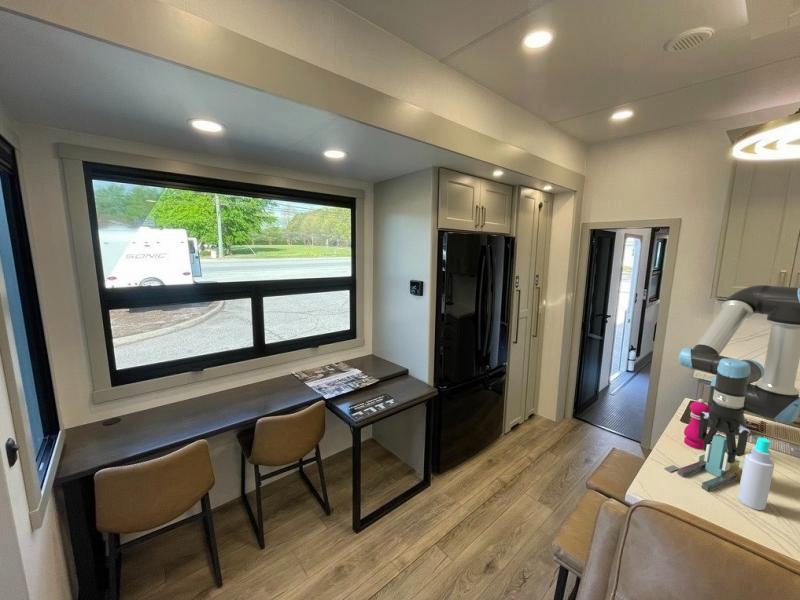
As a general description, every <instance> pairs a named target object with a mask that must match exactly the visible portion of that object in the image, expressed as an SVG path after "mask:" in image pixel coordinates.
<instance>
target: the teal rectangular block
mask: <svg viewBox="0 0 800 600" xmlns="http://www.w3.org/2000/svg"><path fill="white" fill-rule="evenodd" d="M711 443H712V447H711V453H710V458H709V462H706V466H705V469H704V471H706V472H708V473H711V474H712V475H713V476H716V477H719V476H721V475H724V474H726V471H724V470H722V466H723V461H724V455H725V453H726V452H728V447H727V438H726V435H725V436H724V435H722V434H720V433H716V435H714V436H713V440H712V442H711Z"/></svg>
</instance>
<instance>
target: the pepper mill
mask: <svg viewBox="0 0 800 600" xmlns="http://www.w3.org/2000/svg"><path fill="white" fill-rule="evenodd" d="M707 404H708V403H707ZM707 404H706V403H705V400H704V399H703V398H699V399H698V401H692V402H691V403H690V405H689V409H690V411H691V412H690V417H691V419H690V421H689V423H688V424H687V425H686V426H685V428H684V431H683V434H684V439H683V443H684V444H685V445H687V446H688V447H691V448H692V449H697V450H703V446H704V441H703V440H702V439H699V438H698V433H699V426H700V415H699V413H701V412H707V413H709V412H710V408H709V406H708V405H707ZM706 435H707V434H706Z"/></svg>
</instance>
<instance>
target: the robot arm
mask: <svg viewBox="0 0 800 600" xmlns="http://www.w3.org/2000/svg"><path fill="white" fill-rule="evenodd" d="M720 308H721V310H720V312H719V313H718V314H717V316H716V317H715V319H714V320H713V321H712V322H711V323H710V325H709V326H708V328H707V330H706V331H705V332H704V333H703V334H702V336H701V338H699V340H698V341H697V343H696V344H695V346H694V347H693V348H691V347H690V348H688V347H684V348H682V349H681V350H680V352H679V354H678V361H679V364H680V366H683V367H686V368H689V369H691V370H696V371H699V372H703V373H706V374H711V375H714V376H713V377H712V378H711V381H710V384H709V385H710V387H709V393H708V399H707V405H708V406H709V408H710V412H709V413H707V412H701V413H699V415H700V426H699V433H698V438H699V439H702V440H703V441H704V446H703V449H702V450H703V451H704V452H706V453H705V459H704V461H706V462H708V461H709V458H710V453H711V447H712V441H713V436H714V435H717V434H718V432H722V433H724V434H725V437H726V438H727V447H728V450H727V452H726V453H725V455H724V461H723V466H722V470H724V471H726V470H729V469H730V463H734V461H735V456H737V457H741V456H744V455H745V452H746V447H747V443H748V439H749V436H750V435H751V434H752V433H753V432H752V430H751V429H750V428H748V425H747V422H746V418H745V417H746V416H745V412H748V413H752V414H754V415H756V416H757V415H758V416H761V417H763V418H767V419H769V420H772V421H774V422H775V421H777V422H780V423H783V424H786V425H787V424H792V423H794V422H795V421H796V420H797V419H798V418H799V416H800V396H799V395H800V390H799V389H797V388H796V387H795V386H796V380H797V376H798V375H797V374H798V369H799V365H800V287H797V286H795V287H794V286H782V285H780V286H779V285H778V286H777V285H765V284H758V285H752V286H748V287H744V288H743V289H742V288H741V289H740V290H738V291H735V292H734V293H732V294H731V295H730V296H728V297H727V298H726V299H725V300H724V301H723V302H722V304H721V306H720ZM755 314H760V315H767V318H766V320H767V322H769V323H770V324H771V328H770V331H769V339H768V343H767V350H766V354H765V360H764V366H763V365H762V364H761V363H760V362H758V361H757V360H754V359H747V358H746V359H744V358H743V359H738V358H733V357H728V356H724V355H720V354H721V353H722V352H723V351H724V349H725V348H726V346H728V344H729V342H730V341H731V339H732V338H733V337H734V336H735V335H736V332H737V331H738V330H739V329H740V327H741V325H742V324H743V323H744V321H745V320H746V319H749V318H750V317H752V316H753V315H755ZM753 383H754V384H753ZM708 428H709V430H708ZM706 434H707V435H706ZM736 435H738V439H737V442H736Z"/></svg>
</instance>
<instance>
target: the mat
mask: <svg viewBox="0 0 800 600" xmlns="http://www.w3.org/2000/svg"><path fill="white" fill-rule="evenodd" d="M679 468H680V467H678V466H677V465H675V464H673V465H669V466H666V467H664V468H663V470H665V471H667V472H668V473H674V472H675V471H678V469H679Z"/></svg>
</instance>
